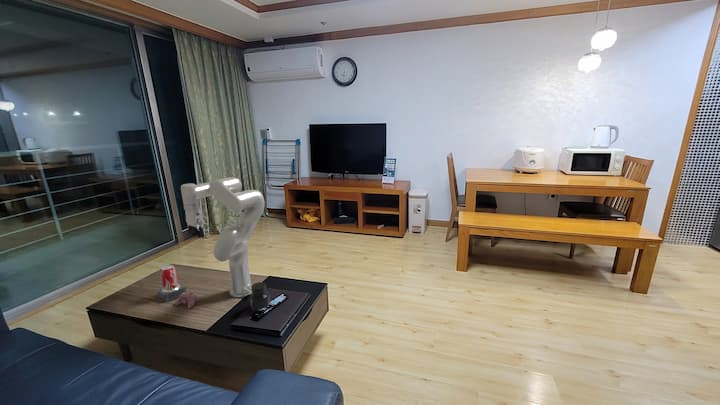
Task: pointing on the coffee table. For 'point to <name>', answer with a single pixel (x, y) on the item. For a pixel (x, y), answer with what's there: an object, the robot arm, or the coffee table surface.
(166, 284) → the soda can
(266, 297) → the ink bottle
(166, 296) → the motor block
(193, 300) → the video game controller
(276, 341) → the coffee table surface
